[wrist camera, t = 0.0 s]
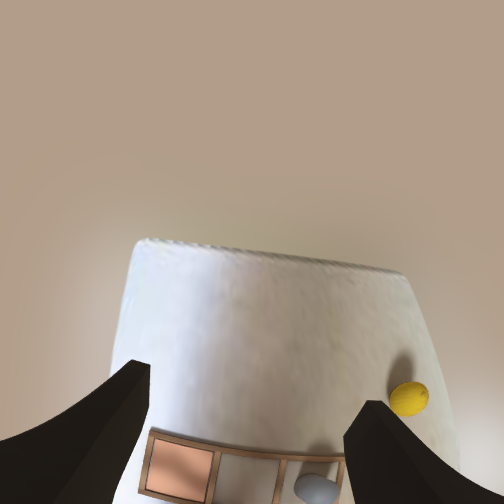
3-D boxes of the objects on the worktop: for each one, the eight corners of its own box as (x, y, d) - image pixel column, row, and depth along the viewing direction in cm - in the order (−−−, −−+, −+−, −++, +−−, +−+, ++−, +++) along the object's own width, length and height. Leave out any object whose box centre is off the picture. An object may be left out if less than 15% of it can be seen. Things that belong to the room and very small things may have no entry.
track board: (333, 513, 29) (335, 514, 29) (138, 491, 28) (137, 493, 27) (344, 456, 34) (346, 456, 34) (150, 430, 33) (149, 430, 32)
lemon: (406, 385, 41) (437, 376, 35) (406, 416, 38) (438, 411, 32) (380, 386, 41) (410, 378, 34) (380, 419, 38) (410, 416, 31)
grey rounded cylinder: (320, 499, 30) (336, 507, 26) (291, 499, 30) (304, 509, 26) (325, 473, 33) (341, 479, 28) (296, 473, 33) (309, 479, 28)
